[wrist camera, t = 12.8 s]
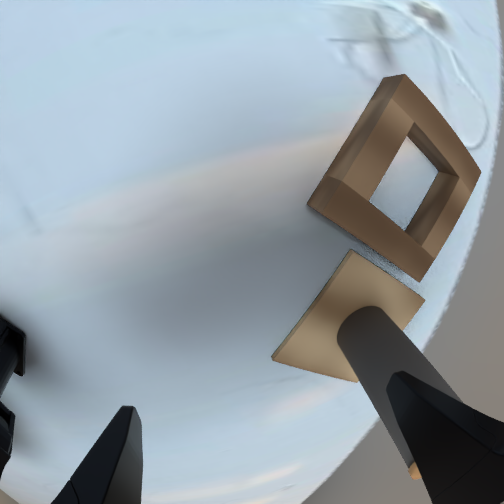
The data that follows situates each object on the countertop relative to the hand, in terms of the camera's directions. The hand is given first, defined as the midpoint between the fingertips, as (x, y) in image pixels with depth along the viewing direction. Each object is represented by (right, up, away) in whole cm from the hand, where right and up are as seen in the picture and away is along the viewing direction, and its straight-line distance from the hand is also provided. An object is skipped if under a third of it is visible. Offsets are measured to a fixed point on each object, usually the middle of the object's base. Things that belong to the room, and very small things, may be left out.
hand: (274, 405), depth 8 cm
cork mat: (+8, -2, +15) cm, 18 cm away
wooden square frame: (+10, +10, +11) cm, 18 cm away
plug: (+9, -2, +15) cm, 18 cm away
